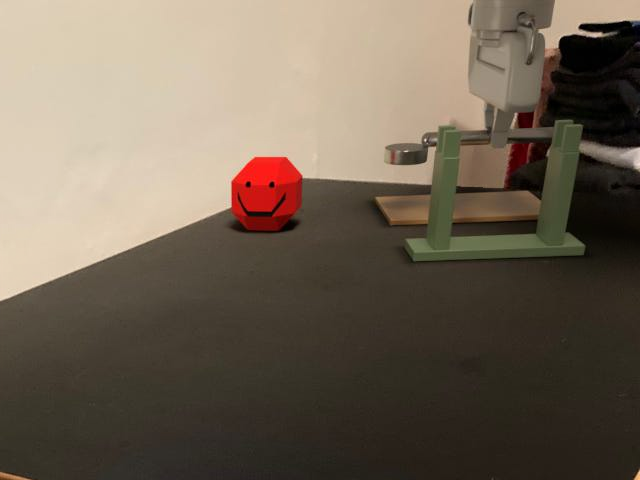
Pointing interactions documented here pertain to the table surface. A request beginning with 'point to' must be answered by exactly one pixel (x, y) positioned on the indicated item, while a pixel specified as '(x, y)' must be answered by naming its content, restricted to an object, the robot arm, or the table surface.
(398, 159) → the ladle
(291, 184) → the ball
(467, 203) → the brown wooden board
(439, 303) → the table surface
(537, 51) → the robot arm
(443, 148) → the rack
